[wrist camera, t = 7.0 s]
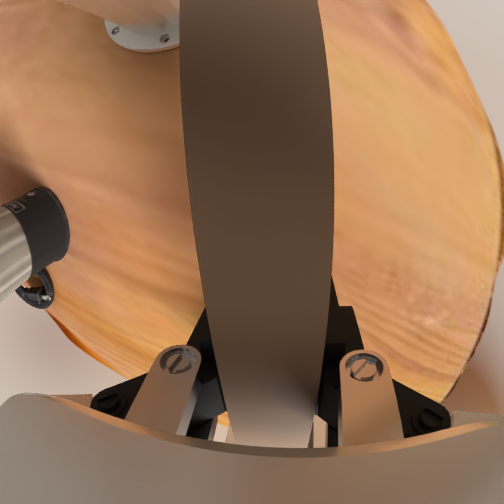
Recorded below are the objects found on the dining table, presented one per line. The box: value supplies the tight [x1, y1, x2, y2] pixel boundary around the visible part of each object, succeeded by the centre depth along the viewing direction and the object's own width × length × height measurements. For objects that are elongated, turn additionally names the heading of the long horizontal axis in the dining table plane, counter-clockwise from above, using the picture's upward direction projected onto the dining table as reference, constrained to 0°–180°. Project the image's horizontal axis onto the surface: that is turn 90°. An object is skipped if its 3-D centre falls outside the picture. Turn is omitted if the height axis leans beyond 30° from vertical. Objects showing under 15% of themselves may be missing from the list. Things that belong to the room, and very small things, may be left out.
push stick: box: [179, 0, 334, 448], centre depth 9 cm, size 19×4×5 cm, turn 4°
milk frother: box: [0, 188, 70, 309], centre depth 20 cm, size 14×16×15 cm
